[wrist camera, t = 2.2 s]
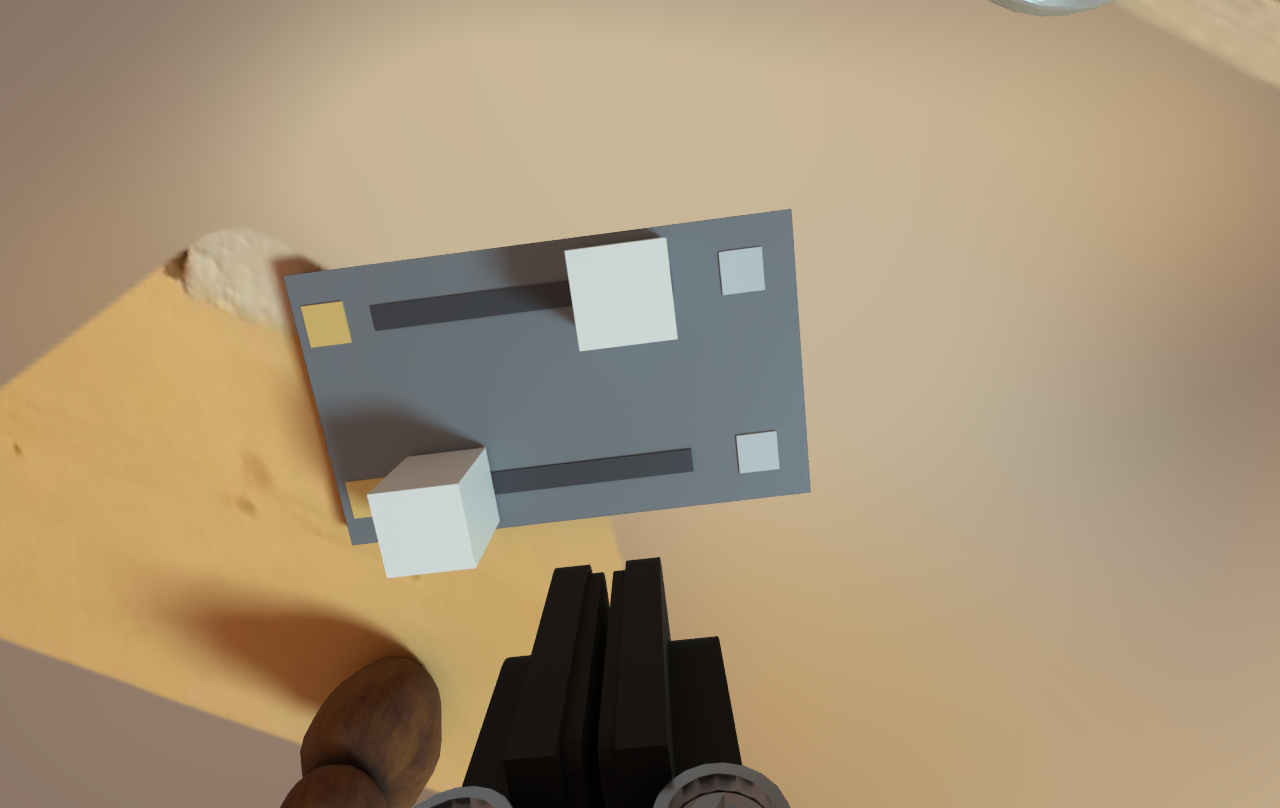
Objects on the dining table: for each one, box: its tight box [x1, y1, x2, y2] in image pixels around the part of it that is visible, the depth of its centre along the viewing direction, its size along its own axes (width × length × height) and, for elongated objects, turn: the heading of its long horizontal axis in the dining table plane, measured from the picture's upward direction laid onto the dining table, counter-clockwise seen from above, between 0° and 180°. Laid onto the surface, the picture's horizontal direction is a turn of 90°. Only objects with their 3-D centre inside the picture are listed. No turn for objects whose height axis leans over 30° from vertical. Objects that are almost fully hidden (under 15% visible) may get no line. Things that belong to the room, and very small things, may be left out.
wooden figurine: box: [280, 658, 442, 808], centre depth 31 cm, size 7×6×15 cm
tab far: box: [367, 447, 500, 578], centre depth 31 cm, size 4×4×5 cm
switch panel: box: [283, 209, 811, 545], centre depth 33 cm, size 24×14×2 cm, turn 97°
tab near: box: [564, 237, 678, 351], centre depth 29 cm, size 4×4×5 cm
